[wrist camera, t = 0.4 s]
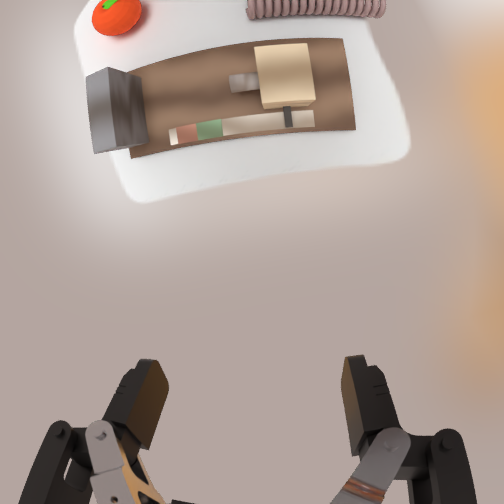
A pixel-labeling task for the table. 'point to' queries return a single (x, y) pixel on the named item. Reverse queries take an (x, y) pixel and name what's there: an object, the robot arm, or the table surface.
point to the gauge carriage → (279, 78)
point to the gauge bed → (210, 99)
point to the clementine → (116, 16)
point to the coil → (350, 3)
